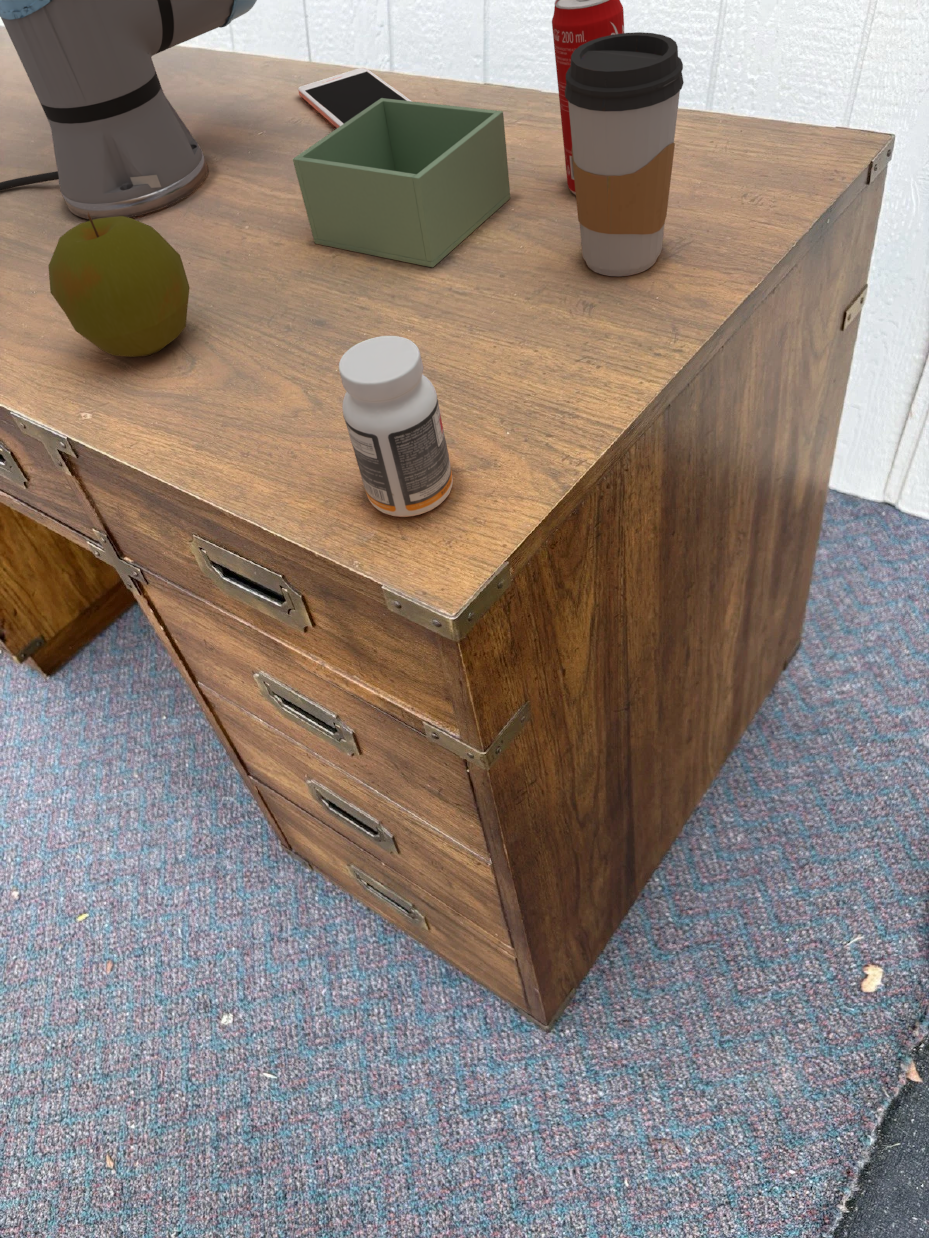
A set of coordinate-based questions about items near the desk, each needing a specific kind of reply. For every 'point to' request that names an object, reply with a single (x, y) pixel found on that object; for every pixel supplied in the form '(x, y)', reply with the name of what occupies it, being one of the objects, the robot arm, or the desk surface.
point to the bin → (405, 179)
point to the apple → (120, 285)
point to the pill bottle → (395, 426)
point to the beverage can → (577, 19)
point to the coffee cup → (623, 146)
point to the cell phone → (347, 94)
